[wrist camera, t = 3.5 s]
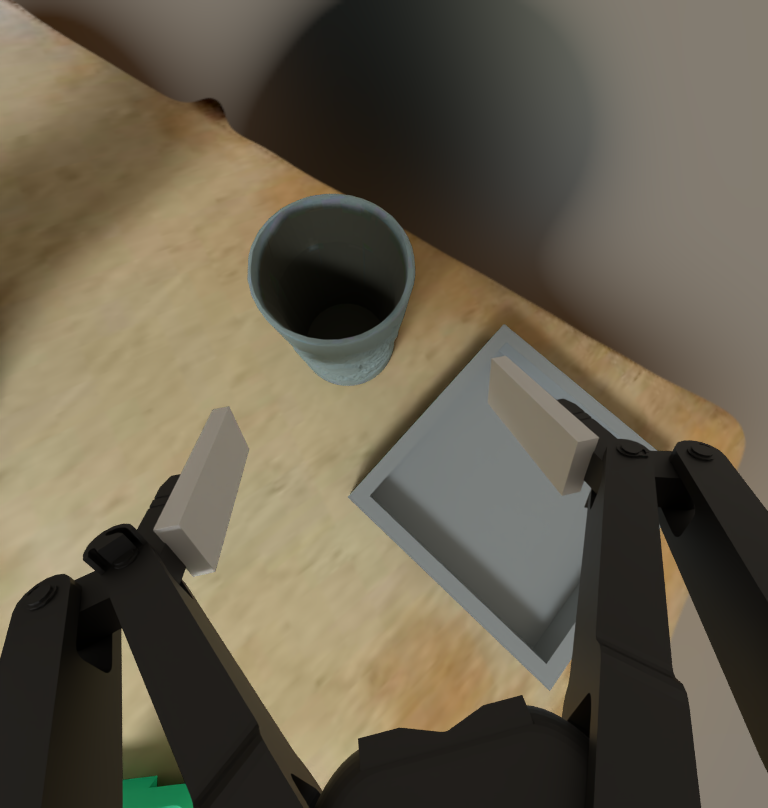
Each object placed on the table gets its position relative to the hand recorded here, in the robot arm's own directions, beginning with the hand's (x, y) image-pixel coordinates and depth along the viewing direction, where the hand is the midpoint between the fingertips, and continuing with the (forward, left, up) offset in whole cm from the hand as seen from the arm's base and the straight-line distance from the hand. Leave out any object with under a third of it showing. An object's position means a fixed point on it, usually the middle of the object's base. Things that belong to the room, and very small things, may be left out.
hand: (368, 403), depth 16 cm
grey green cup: (-8, +5, -13) cm, 16 cm away
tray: (+12, +5, -13) cm, 19 cm away
